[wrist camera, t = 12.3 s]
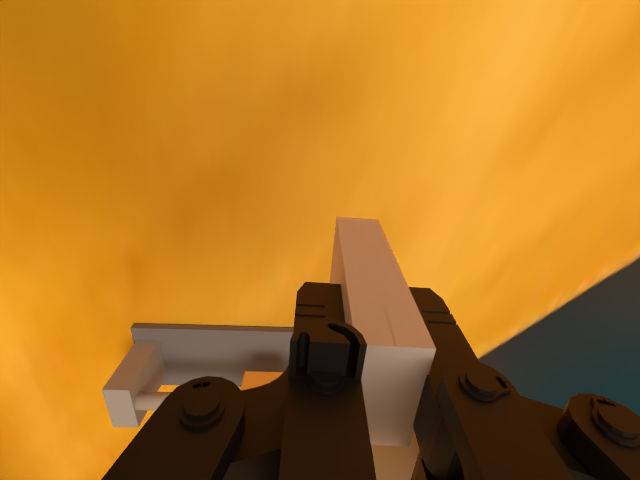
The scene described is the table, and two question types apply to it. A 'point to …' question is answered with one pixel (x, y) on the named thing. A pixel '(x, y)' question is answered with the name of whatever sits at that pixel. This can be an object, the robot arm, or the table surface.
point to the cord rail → (188, 362)
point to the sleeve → (258, 379)
